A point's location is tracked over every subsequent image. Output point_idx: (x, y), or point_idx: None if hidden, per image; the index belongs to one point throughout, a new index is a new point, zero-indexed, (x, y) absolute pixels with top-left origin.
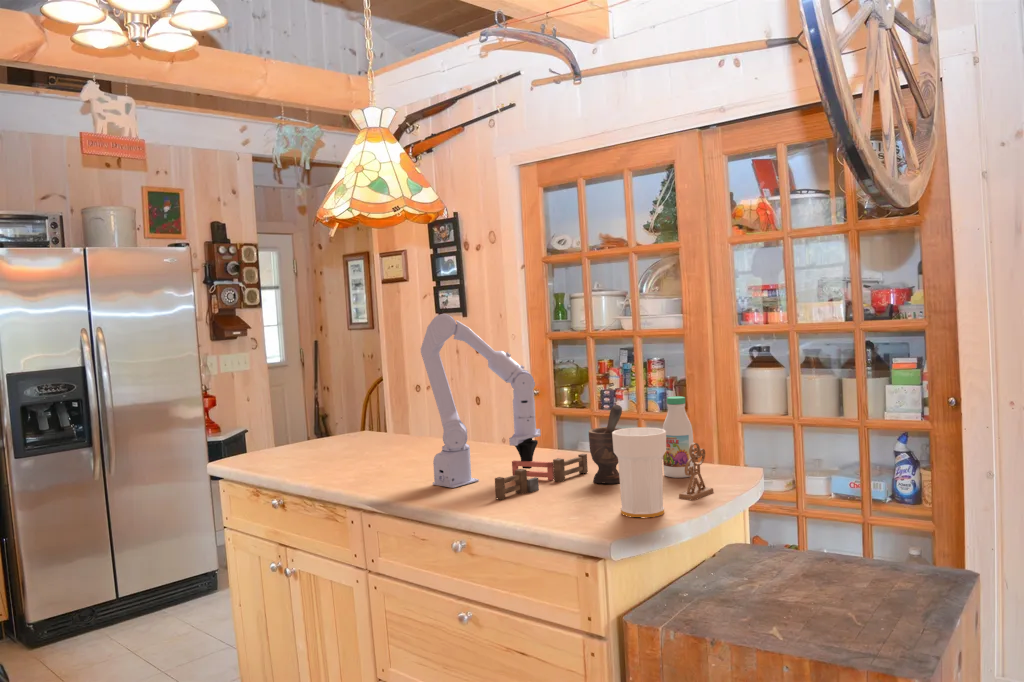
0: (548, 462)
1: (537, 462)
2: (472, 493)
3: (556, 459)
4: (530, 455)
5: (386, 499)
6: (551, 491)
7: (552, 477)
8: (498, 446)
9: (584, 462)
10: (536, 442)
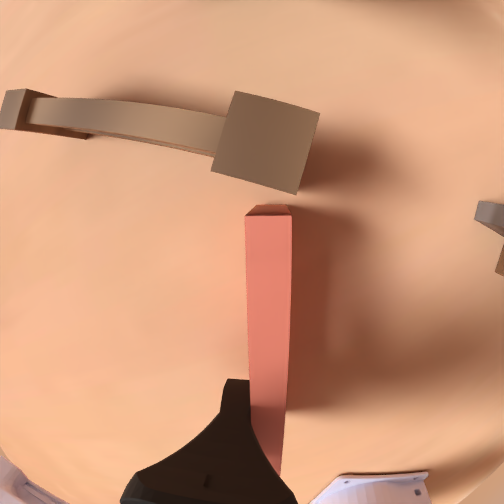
0: (271, 254)
1: (287, 348)
2: (490, 404)
3: (280, 159)
4: (255, 435)
5: (480, 482)
6: (483, 133)
7: (279, 205)
8: (10, 453)
9: (51, 97)
10: (175, 496)
